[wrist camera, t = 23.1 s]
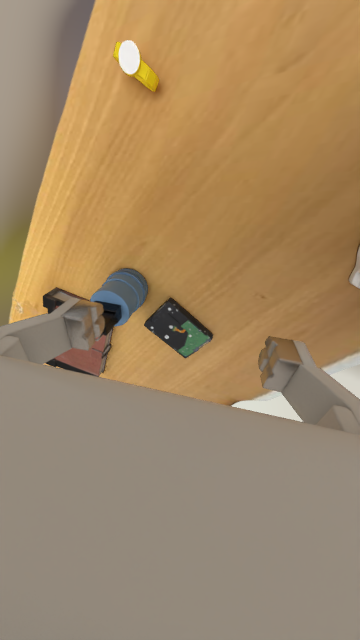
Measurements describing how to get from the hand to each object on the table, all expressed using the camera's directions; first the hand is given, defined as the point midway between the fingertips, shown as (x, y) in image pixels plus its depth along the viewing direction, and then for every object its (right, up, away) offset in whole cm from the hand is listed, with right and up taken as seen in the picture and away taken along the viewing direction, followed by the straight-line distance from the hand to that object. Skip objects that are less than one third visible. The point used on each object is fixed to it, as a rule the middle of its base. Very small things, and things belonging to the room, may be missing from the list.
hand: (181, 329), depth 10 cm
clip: (-14, +3, +31) cm, 34 cm away
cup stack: (-12, +9, +40) cm, 42 cm away
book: (-29, -4, +52) cm, 60 cm away
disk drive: (0, -1, +44) cm, 44 cm away
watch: (-5, +36, +20) cm, 42 cm away
